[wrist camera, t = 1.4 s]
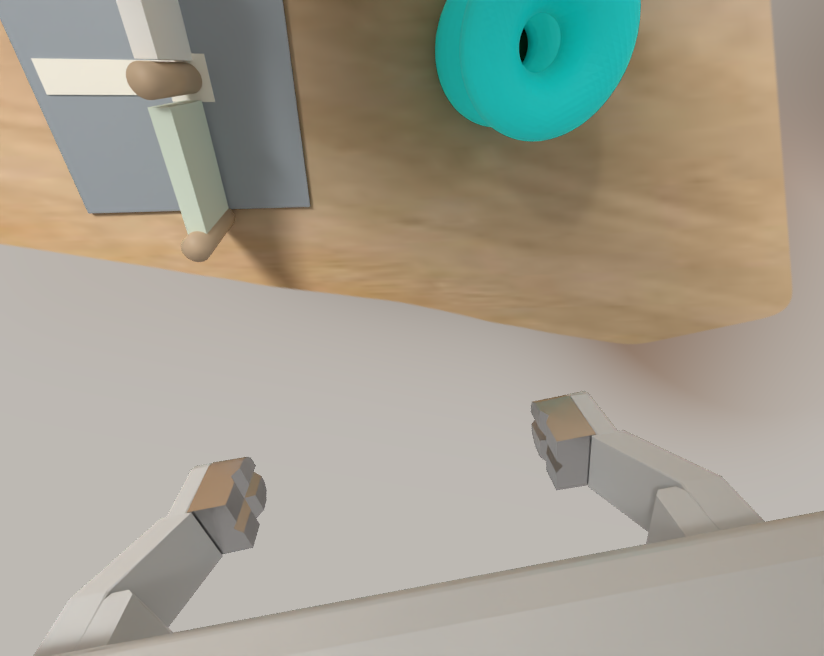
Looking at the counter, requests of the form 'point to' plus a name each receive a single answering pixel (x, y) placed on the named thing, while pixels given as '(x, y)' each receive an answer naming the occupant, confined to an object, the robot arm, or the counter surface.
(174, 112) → the fence panel
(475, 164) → the counter surface
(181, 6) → the board
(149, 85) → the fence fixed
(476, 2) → the donuts
